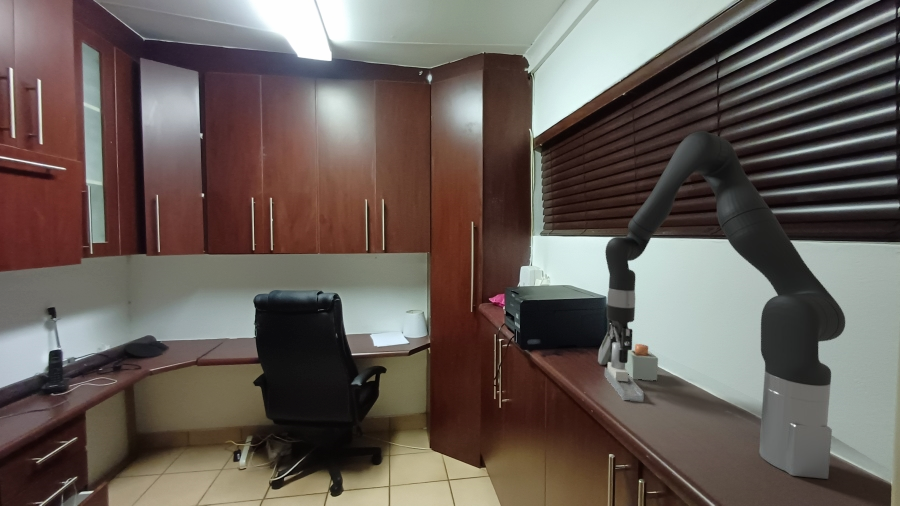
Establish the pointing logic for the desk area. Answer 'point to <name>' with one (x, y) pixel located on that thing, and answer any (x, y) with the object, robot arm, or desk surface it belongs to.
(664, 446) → the desk surface
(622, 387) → the rail
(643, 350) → the button
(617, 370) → the carriage
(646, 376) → the button housing
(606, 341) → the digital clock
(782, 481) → the desk surface
